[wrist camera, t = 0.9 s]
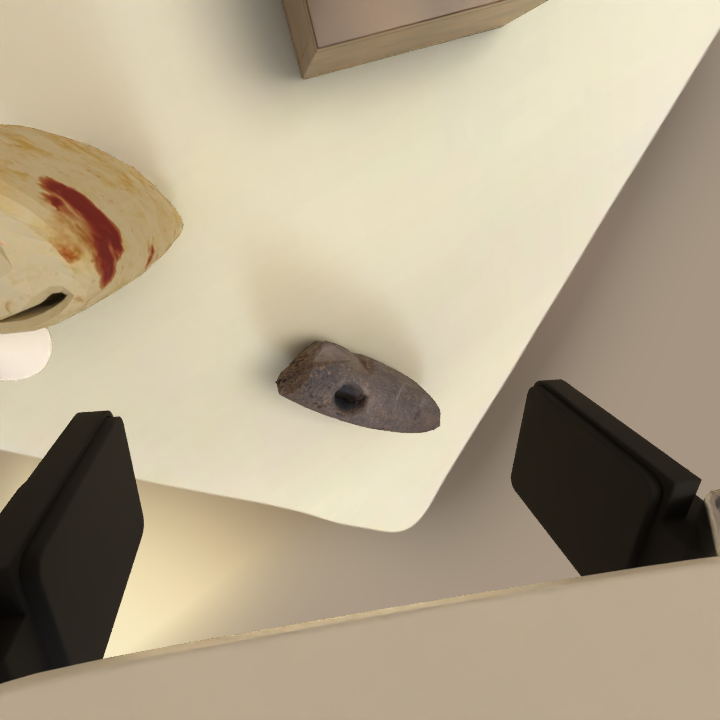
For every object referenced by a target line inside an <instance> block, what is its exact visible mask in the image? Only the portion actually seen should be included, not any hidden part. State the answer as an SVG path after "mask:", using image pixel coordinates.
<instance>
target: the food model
mask: <svg viewBox="0 0 720 720" xmlns="http://www.w3.org/2000/svg"><path fill="white" fill-rule="evenodd" d="M183 225H184V224H183V222H182V219H181V216H180V215H179V214H178V212H177V211H176V209H175V208H174V207H173V206H172V205H171V204H170V202H169V201H168V200H167V199H166V198H165V197H164V196H163V195H162V194H161V193H160V192H159V190H158V189H157V188H156V187H155V186H154V185H153V184H152V183H151V182H149V181H148V180H147V179H146V178H145V177H143V176H142V175H141V174H140V173H139V172H138V171H137V170H135V169H134V168H133V167H131V166H129V165H127V164H125V163H123V162H121V161H118V160H117V159H115V158H114V157H112V156H110V155H108V154H106V153H105V152H103V151H101V150H99V149H97V148H94V147H92V146H89V145H87V144H84V143H81V142H78V141H75V140H72V139H68V138H65V137H62V136H58V135H55V134H52V133H48V132H45V131H42V130H38V129H34V128H29V127H24V126H17V125H3V124H0V334H9V333H19V332H30V331H36V330H39V329H42V328H45V327H48V326H51V325H54V324H57V323H59V322H61V321H63V320H65V319H67V318H69V317H71V316H73V315H75V314H77V313H79V312H81V311H83V310H85V309H86V308H88V307H90V306H92V305H94V304H95V303H97V302H99V301H100V300H102V299H104V298H105V297H107V296H109V295H110V294H112V293H114V292H115V291H117V290H119V289H120V288H122V287H123V286H125V285H126V284H128V283H129V282H131V281H133V280H134V279H136V278H137V277H139V276H140V275H142V274H143V273H144V272H145V271H146V270H147V269H148V268H149V267H150V266H151V265H152V264H153V263H154V262H155V261H157V260H158V259H159V258H160V257H161V256H162V255H163V254H164V253H165V252H166V251H167V250H168V249H169V247H170V246H171V245H172V243H173V241H174V240H175V239H176V238H177V237H178V236H179V235H180V234H181V232H182V228H183Z"/></svg>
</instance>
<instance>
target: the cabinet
mask: <svg viewBox="0 0 720 720" xmlns="http://www.w3.org/2000/svg"><path fill="white" fill-rule="evenodd" d="M546 1H548V0H282V3H283V7H284V11H285V15H286V18H287V22H288V26H289V30H290V34H291V38H292V41H293V45H294V49H295V53H296V57H297V61H298V64H299V68H300V72H301V76H302V79H303V80H304V79H308V78H312V77H315V76H319V75H323V74H327V73H330V72H334V71H338V70H342V69H345V68H349V67H353V66H357V65H361V64H364V63H368V62H372V61H376V60H379V59H383V58H387V57H391V56H394V55H398V54H402V53H406V52H409V51H413V50H417V49H421V48H425V47H428V46H432V45H436V44H440V43H443V42H447V41H451V40H455V39H458V38H462V37H466V36H470V35H473V34H477V33H481V32H485V31H489V30H492V29H496V28H500V27H502V26H504V25H506V24H507V23H509V22H511V21H513V20H514V19H516V18H518V17H520V16H521V15H523V14H525V13H527V12H528V11H530V10H532V9H534V8H535V7H537V6H539V5H541V4H542V3H544V2H546Z"/></svg>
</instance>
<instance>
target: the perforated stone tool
mask: <svg viewBox="0 0 720 720" xmlns="http://www.w3.org/2000/svg"><path fill="white" fill-rule="evenodd" d="M276 383H277V387H278V392H279V394H280V395H282V396H284V397H286V398H287V399H289V400H292V401H294V402H296V403H298V404H300V405H302V406H304V407H306V408H309V409H311V410H314V411H316V412H319V413H321V414H324V415H327V416H329V417H333V418H336V419H338V420H341V421H345V422H348V423H352V424H355V425H359V426H363V427H367V428H372V429H377V430H385V431H391V432H401V433H423V432H427V431H431V430H434V429H436V428H437V427H439V426H440V409H439V407H438V406H437V404H436V402H435V401H434V400H433V399H432V398H431V396H430V395H429V394H428V393H427V392H426V391H425V390H424V389H423V388H422V387H420V386H419V385H418V384H417V383H416V382H414V381H413V380H412V379H410V378H409V377H407V376H405V375H404V374H402V373H400V372H398V371H396V370H394V369H392V368H390V367H388V366H386V365H384V364H382V363H380V362H378V361H376V360H373V359H371V358H369V357H366V356H363V355H359V354H354V353H351V352H349V351H348V350H347V349H346V348H344V347H342V346H339V345H337V344H334V343H331V342H328V341H324V342H321V341H315V342H314V343H313V344H311V345H310V346H309V347H307V348H306V349H305V351H304V352H302V353H301V354H300V355H299V356H298V357H297V358H296V359H294V360H293V361H292V362H291V363H290V364H289V367H287V368H286V369H285V370H284V371H282V372H281V373H280V375H279V377H278V379H277V381H276Z"/></svg>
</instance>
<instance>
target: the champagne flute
mask: <svg viewBox="0 0 720 720" xmlns="http://www.w3.org/2000/svg"><path fill="white" fill-rule="evenodd" d="M51 352H52V342H51V338H50V335H49V332H48V330H47V328H46V327H45V328H42V329H39V330H36V331H30V332H19V333H9V334H0V380H8V381H12V380H21V379H25V378H29V377H31V376H33V375H35V374H37V373H38V372H40V371H41V370H42V369H43V368H44V367H45V366H46V364H47V363H48V361H49V359H50V357H51Z"/></svg>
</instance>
